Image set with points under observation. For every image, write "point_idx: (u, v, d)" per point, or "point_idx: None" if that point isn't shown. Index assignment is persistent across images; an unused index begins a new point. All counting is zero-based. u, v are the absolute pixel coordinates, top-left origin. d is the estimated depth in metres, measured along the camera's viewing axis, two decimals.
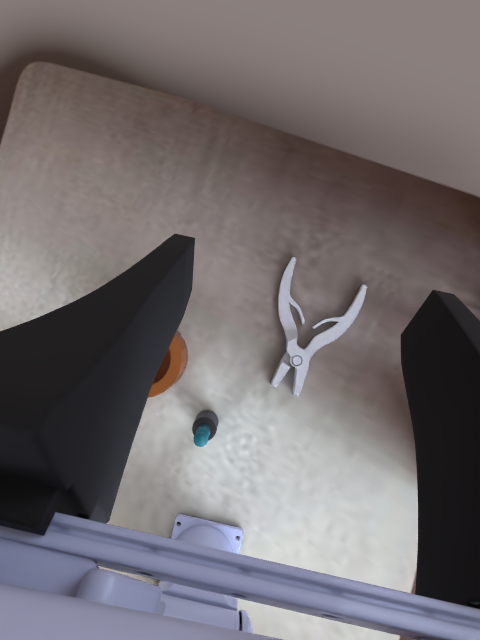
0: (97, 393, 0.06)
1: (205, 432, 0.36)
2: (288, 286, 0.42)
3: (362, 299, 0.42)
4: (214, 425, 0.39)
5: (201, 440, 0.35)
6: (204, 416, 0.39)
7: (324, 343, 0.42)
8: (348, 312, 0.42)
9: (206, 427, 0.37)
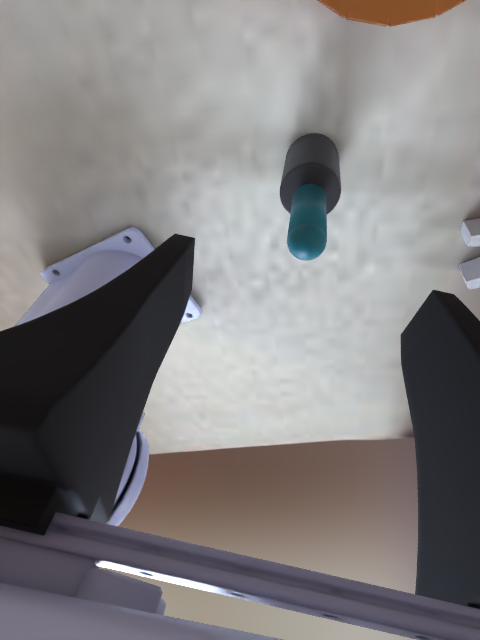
0: (97, 393, 0.06)
1: (326, 236, 0.13)
2: None
3: None
4: (331, 207, 0.16)
5: (309, 252, 0.13)
6: (335, 172, 0.15)
7: None
8: None
9: None
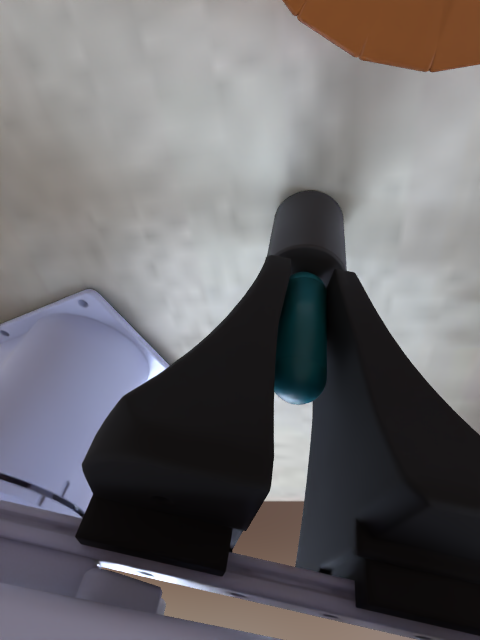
0: None
1: (326, 366, 0.09)
2: None
3: None
4: None
5: (301, 399, 0.08)
6: (339, 255, 0.11)
7: None
8: None
9: (326, 315, 0.10)
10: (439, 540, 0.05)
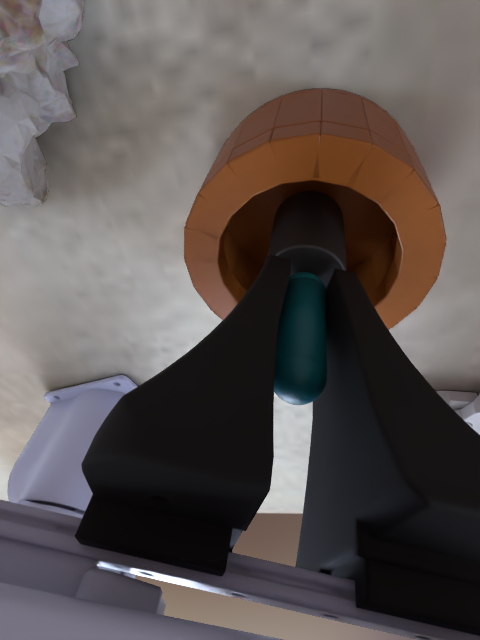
0: None
1: (326, 366, 0.09)
2: None
3: None
4: None
5: (301, 400, 0.08)
6: (339, 255, 0.11)
7: None
8: None
9: (326, 315, 0.10)
10: (439, 540, 0.05)
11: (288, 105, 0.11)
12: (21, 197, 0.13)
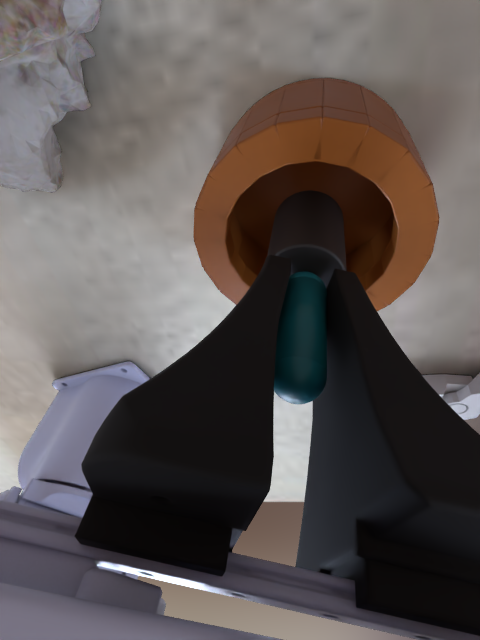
0: None
1: (326, 366, 0.09)
2: None
3: None
4: None
5: (301, 399, 0.08)
6: (339, 254, 0.11)
7: None
8: None
9: (326, 315, 0.10)
10: (439, 540, 0.05)
11: (292, 93, 0.12)
12: (39, 182, 0.14)
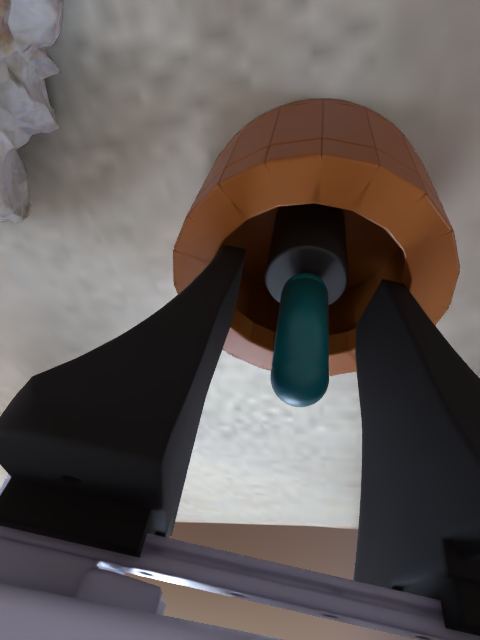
0: (187, 413, 0.06)
1: (328, 368, 0.09)
2: None
3: None
4: (334, 298, 0.12)
5: (303, 402, 0.08)
6: (341, 255, 0.11)
7: None
8: None
9: (328, 316, 0.10)
10: None
11: (286, 118, 0.10)
12: (0, 215, 0.13)
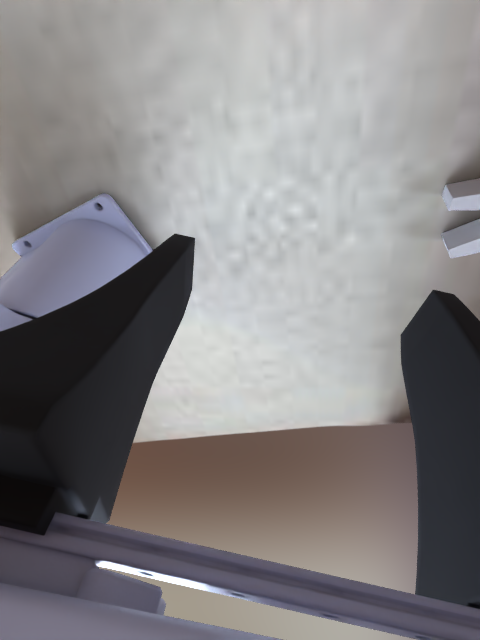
0: (97, 393, 0.06)
1: None
2: None
3: None
4: None
5: None
6: None
7: None
8: None
9: None
10: None
11: None
12: None
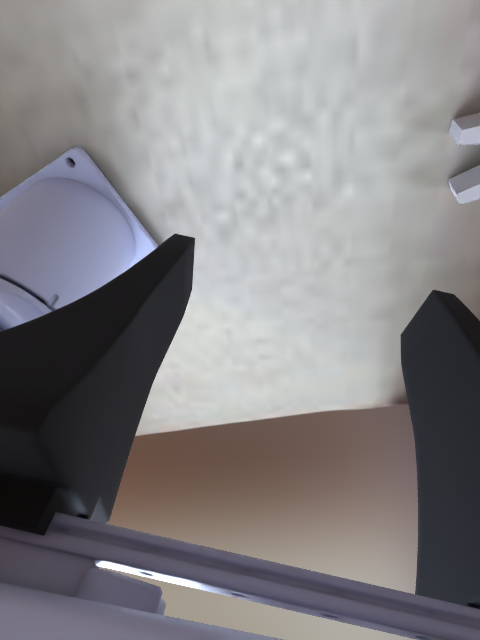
0: (97, 393, 0.06)
1: None
2: None
3: None
4: None
5: None
6: None
7: None
8: None
9: None
10: None
11: None
12: None
